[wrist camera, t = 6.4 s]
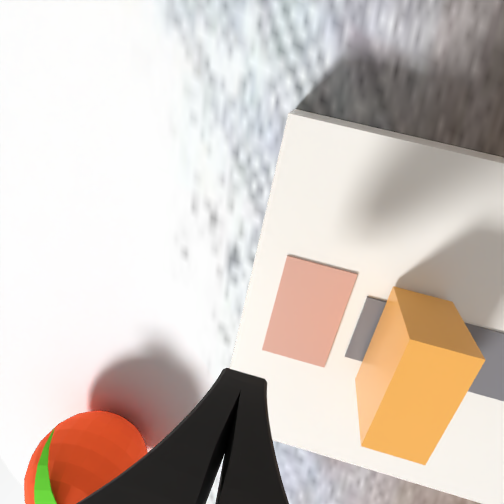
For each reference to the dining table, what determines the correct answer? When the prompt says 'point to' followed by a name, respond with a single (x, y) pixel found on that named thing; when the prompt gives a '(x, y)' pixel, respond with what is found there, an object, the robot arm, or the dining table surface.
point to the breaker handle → (414, 375)
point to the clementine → (81, 457)
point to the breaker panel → (375, 288)
